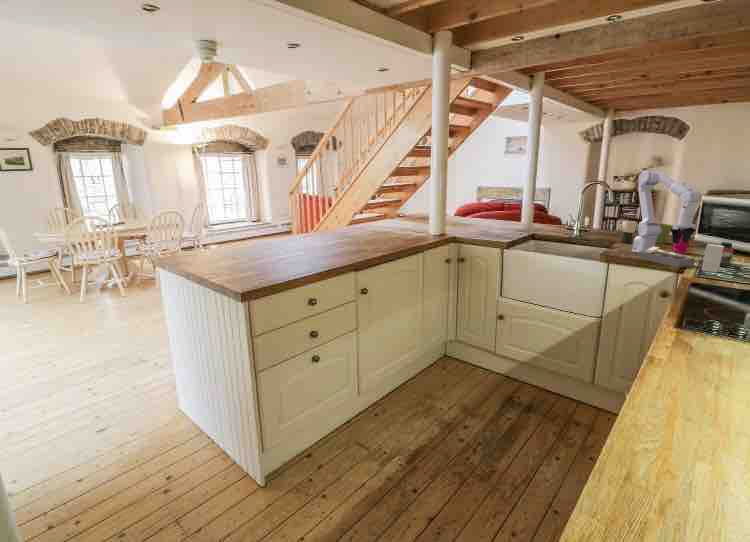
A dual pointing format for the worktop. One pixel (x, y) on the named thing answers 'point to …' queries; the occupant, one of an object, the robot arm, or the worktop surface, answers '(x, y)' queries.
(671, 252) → the right rocker
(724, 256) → the supplement bottle
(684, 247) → the pepper mill
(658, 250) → the middle rocker
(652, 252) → the left rocker
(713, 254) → the skincare box
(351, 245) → the worktop surface
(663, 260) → the power strip
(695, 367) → the worktop surface
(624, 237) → the character mug
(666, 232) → the plant pot
